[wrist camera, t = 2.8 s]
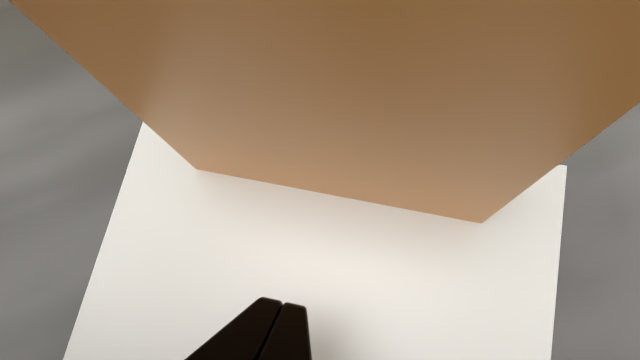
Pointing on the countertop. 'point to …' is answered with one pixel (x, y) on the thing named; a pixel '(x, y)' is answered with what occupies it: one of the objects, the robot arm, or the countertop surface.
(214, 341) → the robot arm
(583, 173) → the countertop surface
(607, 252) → the countertop surface
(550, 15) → the lid
